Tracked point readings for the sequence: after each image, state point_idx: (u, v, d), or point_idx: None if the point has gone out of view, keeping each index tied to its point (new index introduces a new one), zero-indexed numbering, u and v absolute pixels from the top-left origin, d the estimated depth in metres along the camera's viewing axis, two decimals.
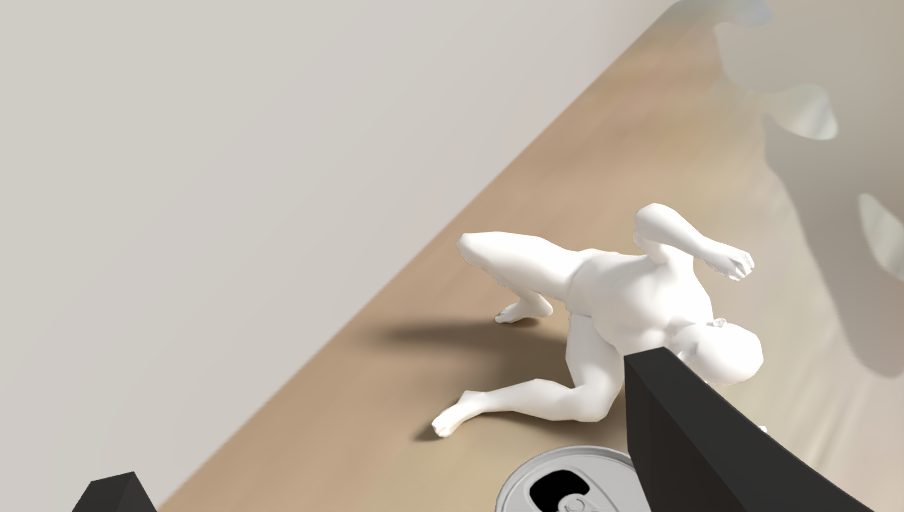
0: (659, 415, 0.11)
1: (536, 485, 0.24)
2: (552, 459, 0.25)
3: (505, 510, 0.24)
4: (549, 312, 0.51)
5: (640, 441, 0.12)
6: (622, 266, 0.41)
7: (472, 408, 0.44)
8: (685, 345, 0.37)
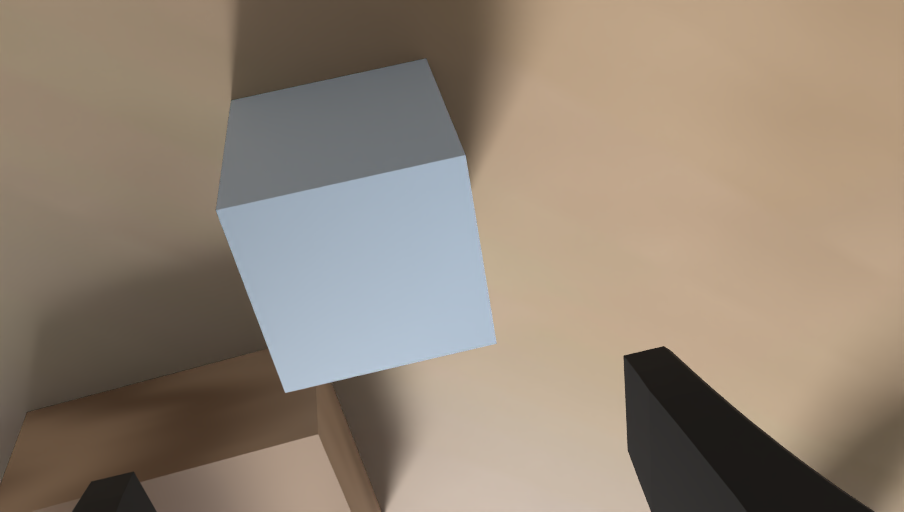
0: (659, 415, 0.11)
1: None
2: None
3: None
4: None
5: (640, 441, 0.12)
6: None
7: None
8: None
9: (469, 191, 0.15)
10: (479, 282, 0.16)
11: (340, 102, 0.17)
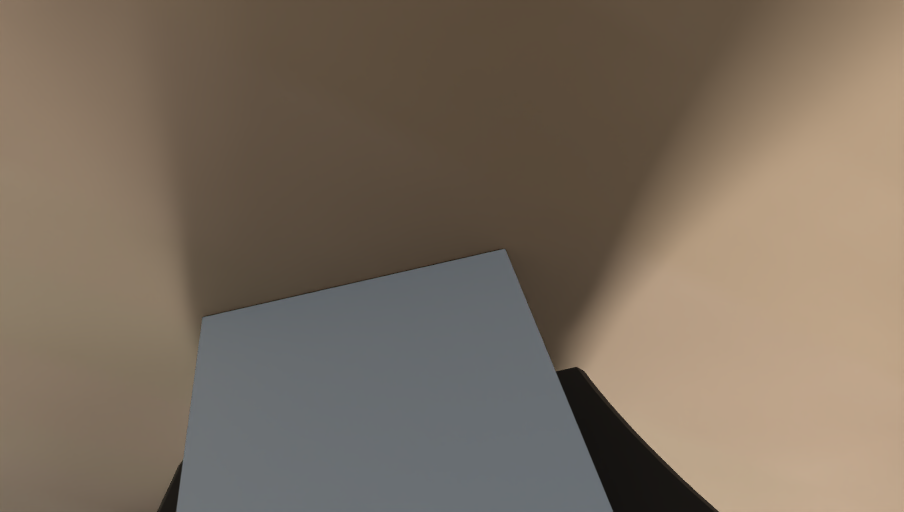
0: None
1: None
2: None
3: None
4: None
5: None
6: None
7: None
8: None
9: None
10: None
11: (376, 347, 0.11)
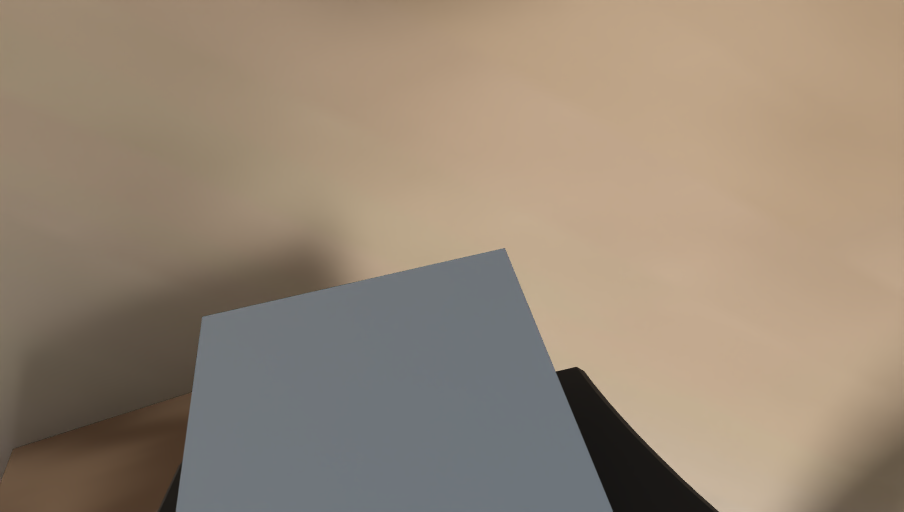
0: None
1: None
2: None
3: None
4: None
5: None
6: None
7: None
8: None
9: None
10: None
11: (376, 346, 0.11)
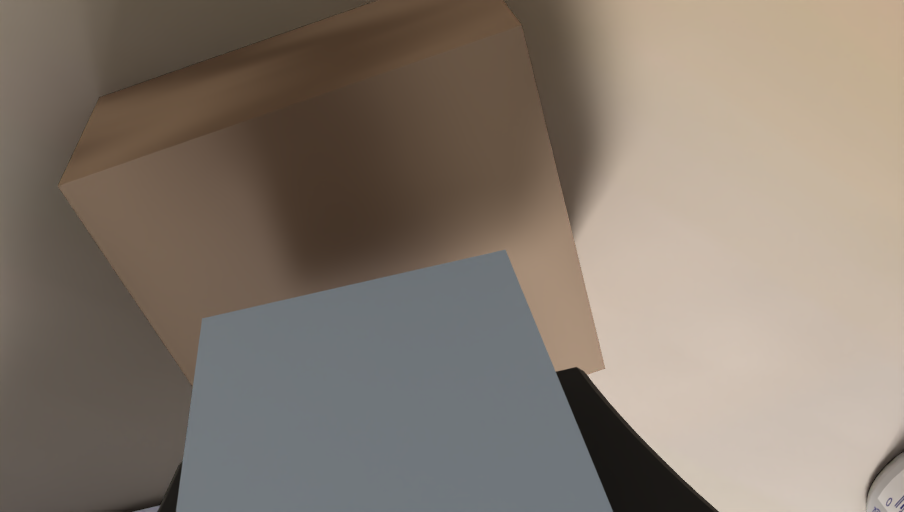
0: None
1: None
2: None
3: None
4: None
5: None
6: None
7: None
8: None
9: None
10: None
11: (375, 348, 0.11)
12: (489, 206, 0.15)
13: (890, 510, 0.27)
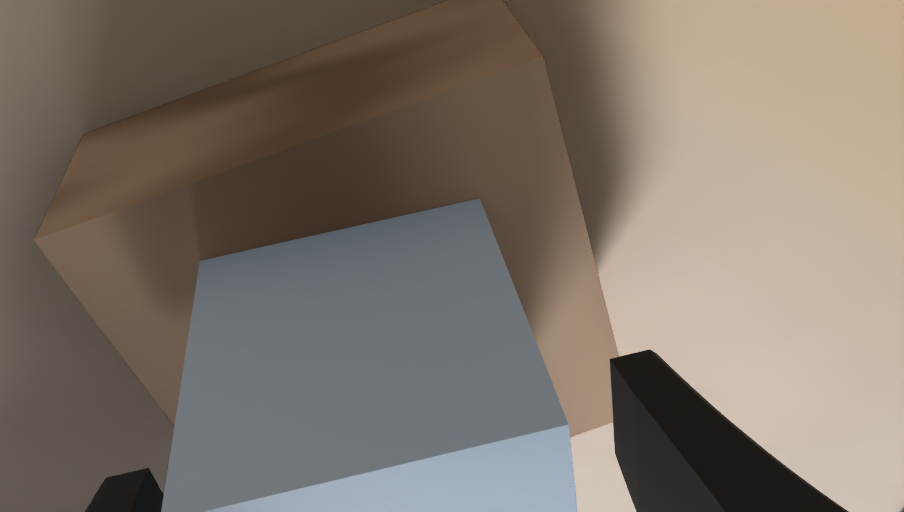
0: (644, 419, 0.10)
1: None
2: None
3: None
4: None
5: (626, 444, 0.12)
6: None
7: None
8: None
9: (569, 469, 0.09)
10: None
11: (359, 283, 0.12)
12: (508, 250, 0.14)
13: None
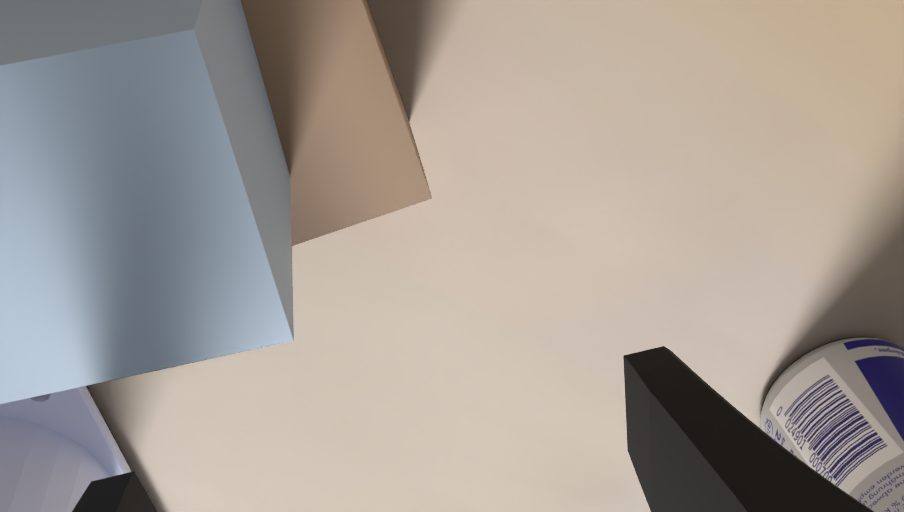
0: (659, 415, 0.10)
1: None
2: None
3: None
4: None
5: (640, 441, 0.12)
6: None
7: None
8: None
9: (211, 93, 0.09)
10: (252, 245, 0.11)
11: None
12: None
13: (780, 419, 0.26)
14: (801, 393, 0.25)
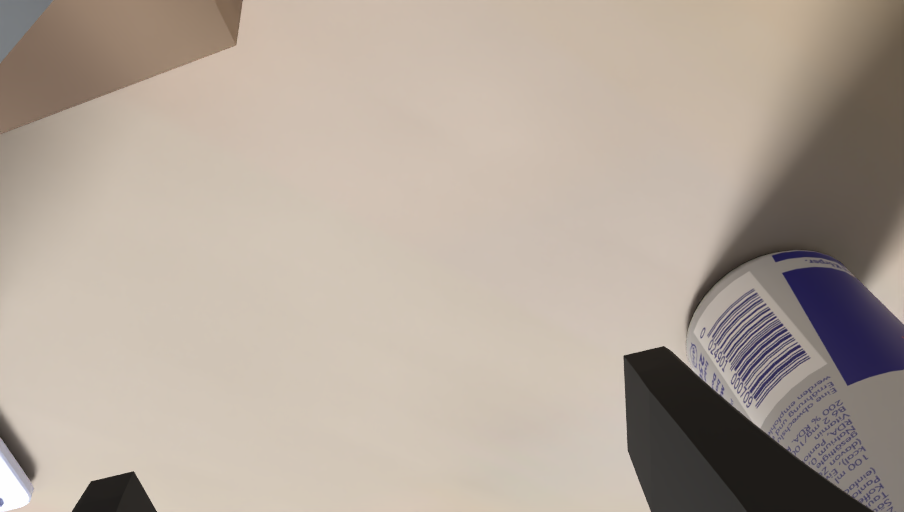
0: (659, 415, 0.11)
1: None
2: None
3: None
4: None
5: (640, 441, 0.12)
6: None
7: None
8: None
9: None
10: None
11: None
12: None
13: (703, 342, 0.23)
14: (724, 311, 0.23)
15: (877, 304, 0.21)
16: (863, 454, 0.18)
